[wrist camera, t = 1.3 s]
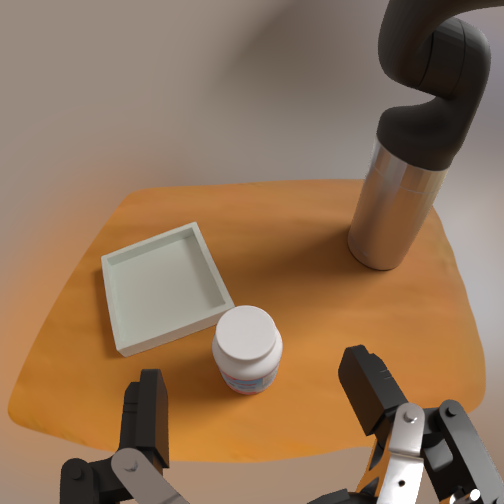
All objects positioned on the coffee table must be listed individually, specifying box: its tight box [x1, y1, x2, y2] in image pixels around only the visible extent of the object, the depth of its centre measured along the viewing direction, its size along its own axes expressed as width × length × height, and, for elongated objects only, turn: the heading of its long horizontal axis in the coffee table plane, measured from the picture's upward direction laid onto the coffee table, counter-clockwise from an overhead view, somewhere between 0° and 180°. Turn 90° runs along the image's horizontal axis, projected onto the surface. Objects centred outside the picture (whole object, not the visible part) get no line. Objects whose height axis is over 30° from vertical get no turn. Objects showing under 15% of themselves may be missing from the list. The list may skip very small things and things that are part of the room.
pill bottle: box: [212, 306, 282, 394], centre depth 26 cm, size 6×6×11 cm
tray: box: [101, 222, 235, 357], centre depth 36 cm, size 15×15×2 cm
